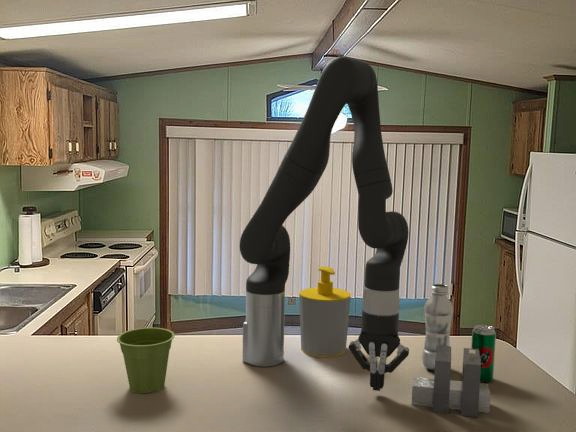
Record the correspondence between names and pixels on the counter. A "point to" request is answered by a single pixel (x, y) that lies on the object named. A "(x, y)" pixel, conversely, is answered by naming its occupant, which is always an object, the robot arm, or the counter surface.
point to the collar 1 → (442, 379)
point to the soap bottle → (324, 318)
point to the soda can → (485, 349)
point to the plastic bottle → (436, 323)
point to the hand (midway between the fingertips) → (376, 389)
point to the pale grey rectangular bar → (425, 392)
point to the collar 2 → (471, 382)
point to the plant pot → (146, 357)
